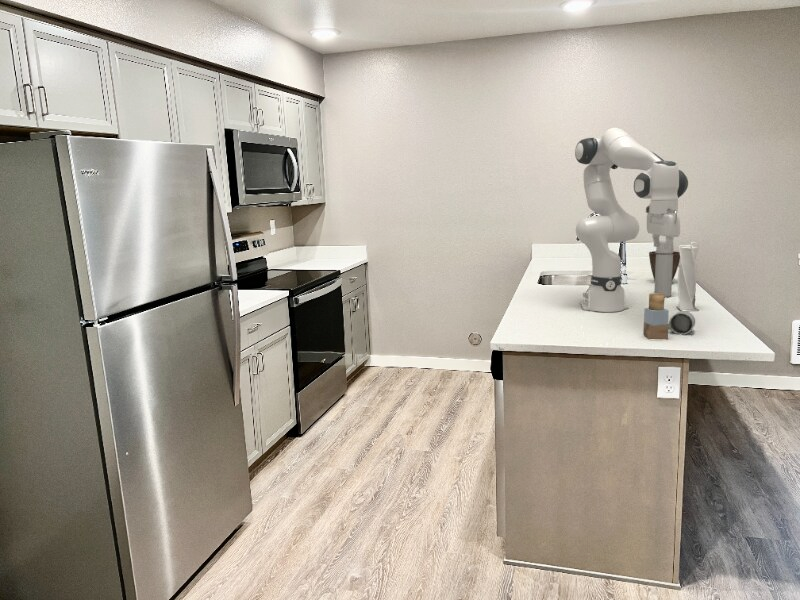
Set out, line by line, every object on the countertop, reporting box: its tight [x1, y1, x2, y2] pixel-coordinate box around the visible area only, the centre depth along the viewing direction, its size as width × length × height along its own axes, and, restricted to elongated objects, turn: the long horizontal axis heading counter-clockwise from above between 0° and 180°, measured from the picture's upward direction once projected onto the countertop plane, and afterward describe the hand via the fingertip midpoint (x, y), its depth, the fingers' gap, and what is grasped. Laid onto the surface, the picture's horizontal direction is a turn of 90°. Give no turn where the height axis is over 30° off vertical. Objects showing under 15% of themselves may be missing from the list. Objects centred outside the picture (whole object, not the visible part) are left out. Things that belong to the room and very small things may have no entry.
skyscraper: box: [676, 241, 700, 311], centre depth 242 cm, size 8×8×28 cm
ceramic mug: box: [668, 310, 696, 335], centre depth 210 cm, size 11×8×8 cm
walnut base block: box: [642, 321, 669, 340], centre depth 204 cm, size 6×6×5 cm
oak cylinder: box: [648, 292, 665, 310], centre depth 202 cm, size 5×5×5 cm
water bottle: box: [653, 240, 675, 298], centre depth 271 cm, size 9×8×25 cm
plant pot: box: [648, 250, 681, 282], centre depth 304 cm, size 15×15×16 cm
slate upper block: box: [643, 307, 669, 326], centre depth 203 cm, size 6×6×5 cm
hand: (662, 248), depth 210 cm, fingers open, 8 cm apart
